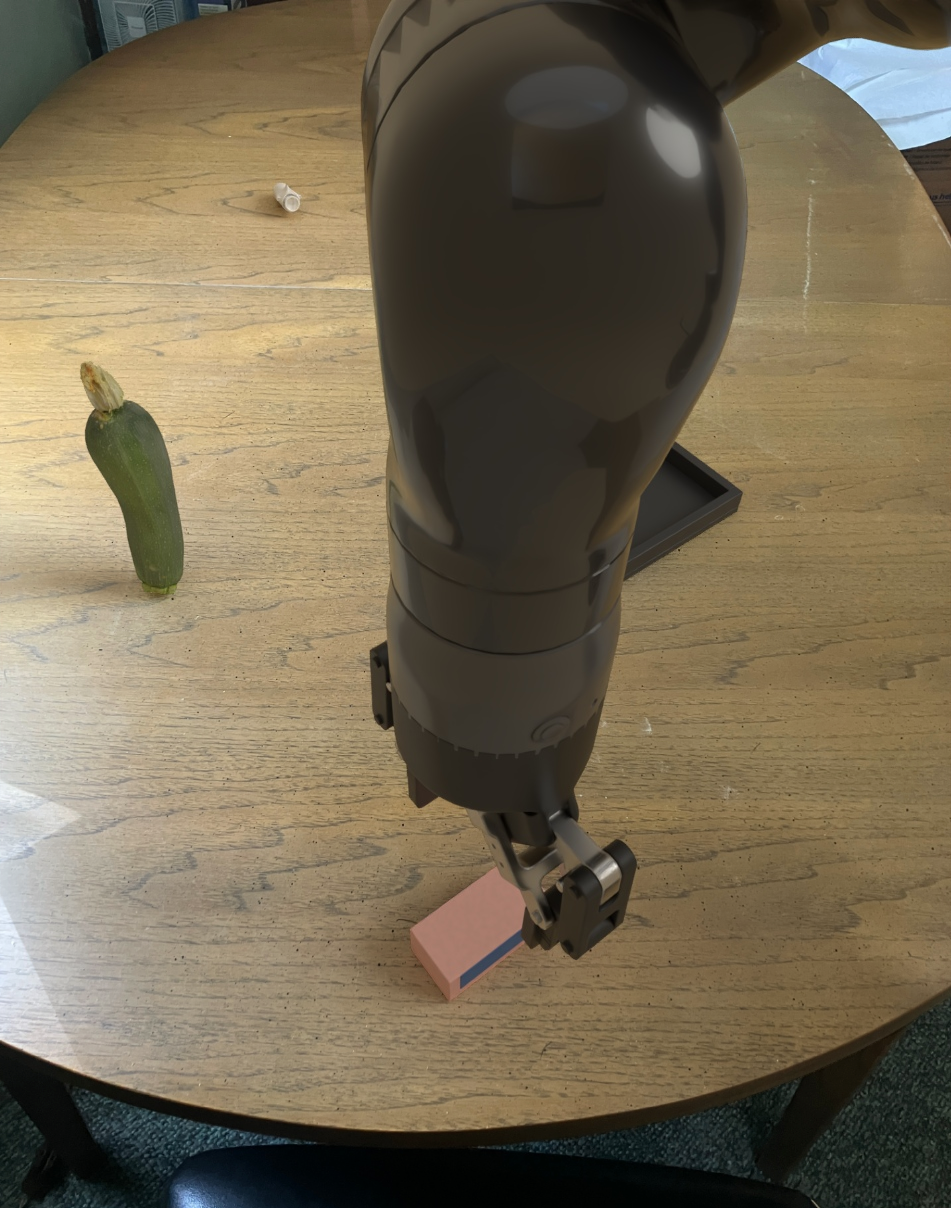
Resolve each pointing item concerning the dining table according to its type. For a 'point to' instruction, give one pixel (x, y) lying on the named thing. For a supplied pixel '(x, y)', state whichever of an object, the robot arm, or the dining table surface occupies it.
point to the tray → (678, 507)
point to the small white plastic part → (286, 197)
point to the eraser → (470, 933)
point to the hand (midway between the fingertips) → (484, 858)
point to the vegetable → (136, 479)
